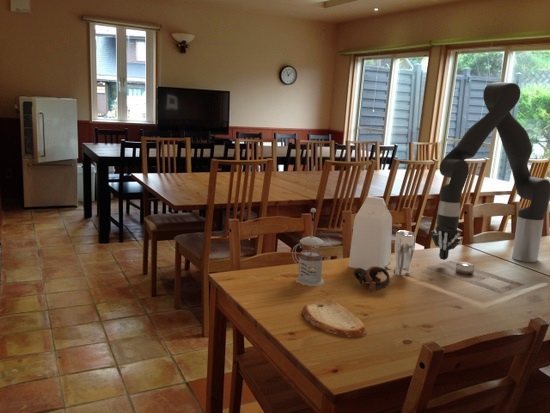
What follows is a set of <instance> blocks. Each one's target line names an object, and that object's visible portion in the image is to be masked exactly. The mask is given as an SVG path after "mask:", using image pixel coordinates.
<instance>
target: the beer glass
mask: <svg viewBox="0 0 550 413" xmlns="http://www.w3.org/2000/svg"><path fill="white" fill-rule="evenodd" d="M416 235H417V234H416V232H413V231H409V230H398V231H396V233H395V240H394V256H395V257H394V258H395V259H394V260H395V265H394V269H393V274H394V275H396V276H400V277H410V275H409V274H410V273H411V272H412V270H411V269H412V268H411V266H412V261H413V258H414V253H415V250H416V249H415V248H416Z"/></svg>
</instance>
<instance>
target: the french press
mask: <svg viewBox="0 0 550 413" xmlns="http://www.w3.org/2000/svg"><path fill="white" fill-rule="evenodd" d="M310 213H312V217H314V215H315V214H314V213H317V209H316V208H314V207H311V209H310ZM311 224H312V227H311V236H305V237H303V238H301V239H299V243H298V244H295V246H294V247H293V249H292V252H291V253H292V259H293V261H294V263H295V264H296V265H297V266H298V276H297V277H298V278H297V277H296V278H297V281H298V282H299V283H301V284H304V285H308V286H307V287H318V286H322V285H324V283H325V281H324V279H323V278H322V277H323V276H322V272H323V256H322V255H323V253H322V252H320V251H318V250H312V249H313V247H319V246H323V245H324V244H325V242H324V240H323V239H321V238H319V237H318V236H317V237H316V236H313V232H314V231H313V230H314V222H312V223H311ZM304 246H309V247H310V249H308V250H307V249H305V250H302V251H300V256H299V257H298V258H299V259H298V258H297V255H296V252H297V251H296V250H297V247H299V248H300V249H302V248H304ZM294 257H295V258H294ZM295 259H296V260H295ZM297 262H298V263H297ZM301 284H300V285H301ZM304 285H303V286H304Z"/></svg>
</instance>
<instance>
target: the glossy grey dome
mask: <svg viewBox="0 0 550 413" xmlns="http://www.w3.org/2000/svg"><path fill="white" fill-rule="evenodd" d="M474 268H475V264H473V263H472V262H471V263H470V262H468V261H467V262H466V261H458V262H456V273H458V274H461V275H473V273H474Z"/></svg>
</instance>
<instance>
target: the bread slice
mask: <svg viewBox="0 0 550 413" xmlns="http://www.w3.org/2000/svg"><path fill="white" fill-rule="evenodd" d="M302 316H303V317H304V319H305V320H306V321H307V322H308V323H309V324H311V325H312V326H314V327H316V328H318V329H320V330H322V331H324V332H327V333H329V334H333V335H335V336H341V337H345V338H361V337H364V336H365V337H366V335H367V330H366V326H365V324H364V322H362V320H361V319H360V318H358V317H357V316H356V315H355V313H353V312H351V311H350V310H349V309H346V308H345V307H344V306H342V305H341V304H339V303H337V302H336V301H333V300H332V299H322V300H318V301H315V302H313V303H309V304H305V305H304V306H303V308H302Z"/></svg>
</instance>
